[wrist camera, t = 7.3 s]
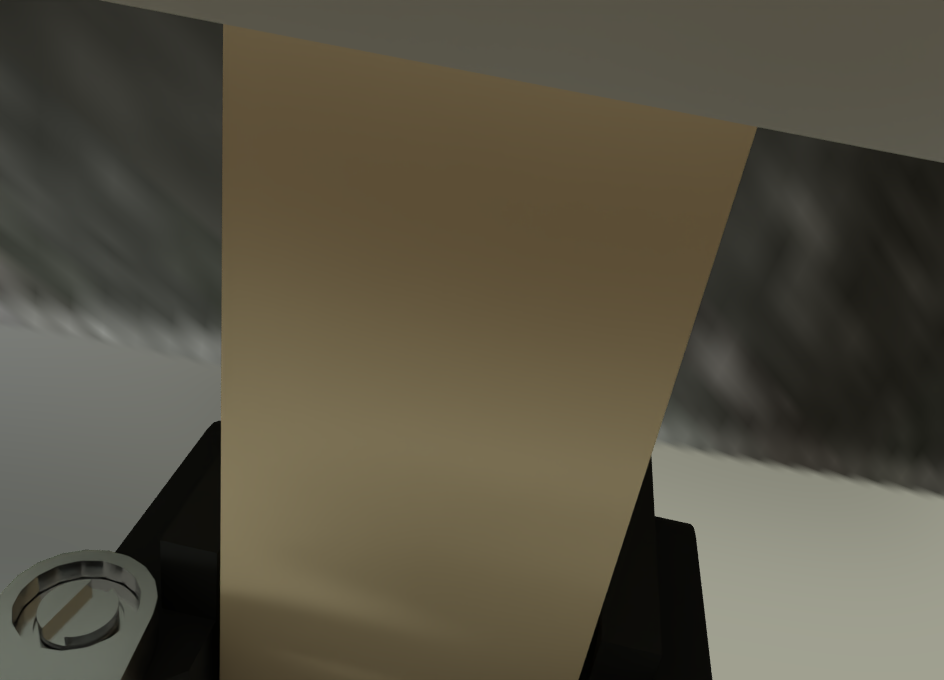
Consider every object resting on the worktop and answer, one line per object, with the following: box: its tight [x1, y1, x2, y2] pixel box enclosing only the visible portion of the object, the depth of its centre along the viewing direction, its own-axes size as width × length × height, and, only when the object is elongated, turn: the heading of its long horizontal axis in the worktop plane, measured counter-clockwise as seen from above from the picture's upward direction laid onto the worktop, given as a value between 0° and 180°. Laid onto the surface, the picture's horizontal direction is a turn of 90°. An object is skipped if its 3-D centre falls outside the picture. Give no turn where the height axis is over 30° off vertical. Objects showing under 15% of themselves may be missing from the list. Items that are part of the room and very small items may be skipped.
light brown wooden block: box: [101, 0, 944, 680], centre depth 11 cm, size 15×7×6 cm, turn 171°
